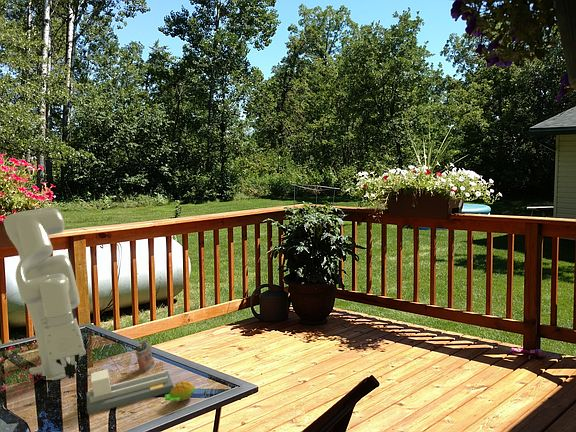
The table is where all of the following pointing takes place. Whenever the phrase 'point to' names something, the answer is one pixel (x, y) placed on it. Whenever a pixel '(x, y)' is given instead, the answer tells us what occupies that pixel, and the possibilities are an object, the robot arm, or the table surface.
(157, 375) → the fader board
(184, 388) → the toy pineapple
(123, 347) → the table surface
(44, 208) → the robot arm
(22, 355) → the table surface
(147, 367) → the lighter
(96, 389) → the fader knob
